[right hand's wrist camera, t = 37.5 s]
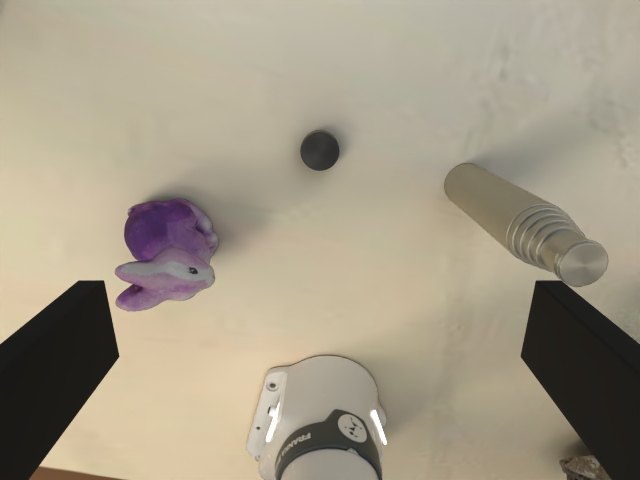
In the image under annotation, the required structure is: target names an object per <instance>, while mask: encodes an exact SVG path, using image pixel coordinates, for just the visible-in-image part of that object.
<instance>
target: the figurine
mask: <svg viewBox="0 0 640 480" xmlns="http://www.w3.org/2000/svg"><path fill="white" fill-rule="evenodd" d="M128 216H129V218H128V219H127V221H126V224H125V230H124V238H125V242H126V245H127V246H128V248H129V250H130V252H131V253H132V255H133V256H134V257H135V259H137V260H138V261H135V262H128V263H126V264H123V265H120V266H118V267H117V268H116V269H115V274H116V275H117V276H118V277H119V278H120V279H121V280H123V281H126V282H128V283H131V284H133V285H131V286H130V287H129V288H127V289H126V290H125V291H123V292H122V293H121V294H120V295H119V296H118V297H117V299H116V306H117V307H119V308H120V309H123V310H126V311H134V312H135V311H142V310H147V309H150V308H153V307H155V306H157V305H158V304H160V303H161V302H163V301H165V300H174V301H183V300H187V299H190V298H192V297H193V296H194V295H195V294H196V293H198V292H199V291H201V290H203V289H206V288H209V287H210V286H212V284H213V283H214V281H215V274H214V270H213V268H212V267H211V266H210V265H209V263H210V258H211V257H212V255H213V253H214V251H215V250H216V248H217V246H218V242H219V240H218V237H217V235H216V234H215V233H214V232H213V230H212V223H211V221H210V219H209V218H208V217H207V216H206V215H205V214H204V213H203V212H202V211H201V210H200V209H199V208H197V207H196V206H195V205H193V204H192V203H191V202H189V201H188V200H185V199H179V198H177V199H174V200H170V201H151V202H146V203H142V204H137V205H134V206H132V207H131V208H129V209H128Z"/></svg>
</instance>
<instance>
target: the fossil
mask: <svg viewBox="0 0 640 480" xmlns="http://www.w3.org/2000/svg"><path fill="white" fill-rule="evenodd" d="M559 463H560V465H561V466H562V470H563V472H564V473H566V474H567V480H611V478H610V477H609V476H608V474H607V473H606V472H605V470H604V469H603V468H602V466H601V465H600V464H599V462H598V461H597V459H596V458H595V457H594V455H587V456H577V457H570V458H567V459H563V460H560V461H559Z"/></svg>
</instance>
